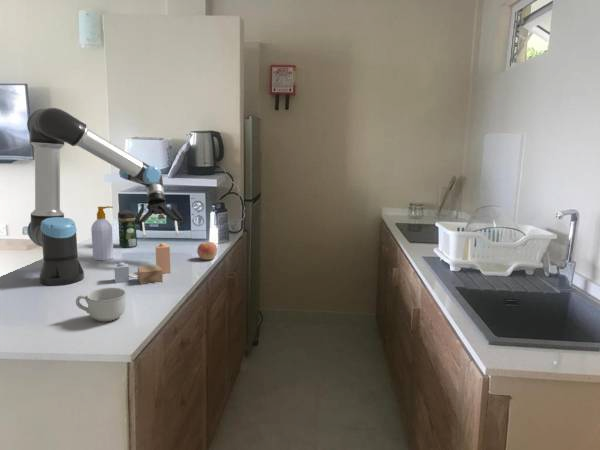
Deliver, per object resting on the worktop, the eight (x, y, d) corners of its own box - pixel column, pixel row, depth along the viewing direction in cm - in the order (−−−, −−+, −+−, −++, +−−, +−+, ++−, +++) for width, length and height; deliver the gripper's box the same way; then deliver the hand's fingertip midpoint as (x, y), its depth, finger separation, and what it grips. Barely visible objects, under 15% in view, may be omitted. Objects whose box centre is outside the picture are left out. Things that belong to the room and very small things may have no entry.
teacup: (131, 311, 144) (130, 287, 142) (119, 325, 133) (118, 299, 131) (86, 311, 143) (85, 287, 142) (70, 324, 132) (69, 298, 131)
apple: (215, 261, 206) (214, 244, 204) (195, 261, 206) (195, 244, 204) (218, 257, 214) (218, 240, 213) (200, 256, 214) (199, 240, 213)
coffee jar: (117, 245, 235) (115, 209, 231) (133, 243, 239) (131, 208, 236) (123, 248, 227) (121, 212, 224) (139, 247, 232) (137, 211, 228)
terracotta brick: (157, 274, 185) (156, 245, 183) (156, 271, 189) (155, 242, 187) (170, 273, 187) (169, 244, 185) (168, 270, 191) (168, 242, 189)
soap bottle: (115, 259, 206) (112, 207, 202) (92, 261, 203) (89, 208, 199) (115, 255, 214) (112, 205, 210) (93, 256, 211) (90, 205, 206)
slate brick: (115, 283, 172) (114, 265, 171) (114, 279, 177) (114, 262, 176) (129, 281, 174) (128, 264, 173) (128, 278, 179) (127, 261, 177)
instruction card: (133, 277, 179) (133, 276, 179) (125, 274, 183) (124, 274, 183) (151, 273, 186) (151, 272, 186) (142, 270, 189) (142, 270, 189)
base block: (140, 285, 171) (140, 272, 170) (138, 279, 178) (137, 267, 177) (162, 282, 174) (162, 270, 174) (159, 277, 181) (158, 265, 181)
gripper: (183, 200, 213) (189, 238, 202) (126, 202, 204) (129, 242, 193) (184, 190, 207) (191, 228, 197) (126, 192, 198) (130, 232, 187)
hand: (161, 235), depth 195 cm, fingers open, 13 cm apart
